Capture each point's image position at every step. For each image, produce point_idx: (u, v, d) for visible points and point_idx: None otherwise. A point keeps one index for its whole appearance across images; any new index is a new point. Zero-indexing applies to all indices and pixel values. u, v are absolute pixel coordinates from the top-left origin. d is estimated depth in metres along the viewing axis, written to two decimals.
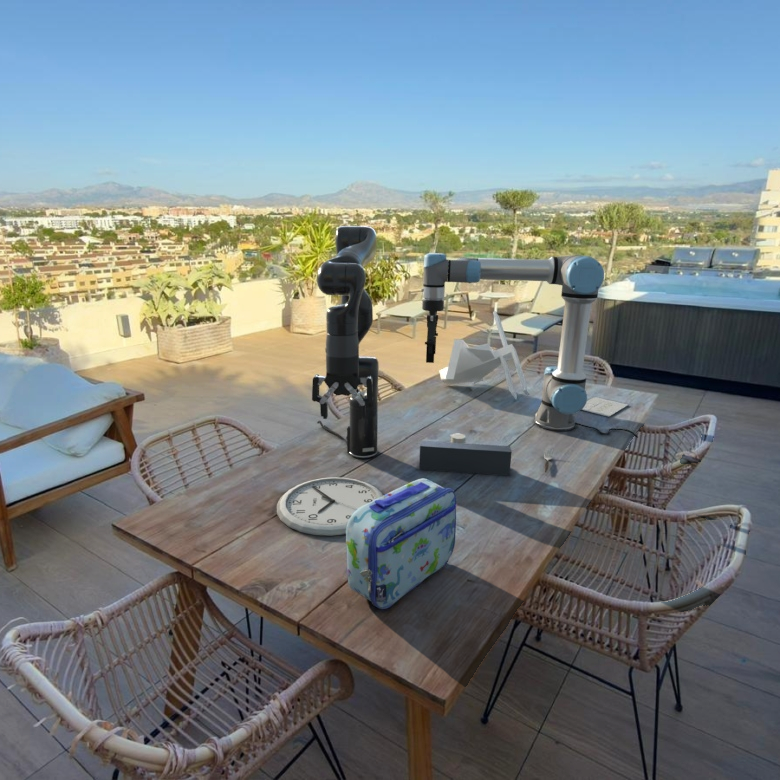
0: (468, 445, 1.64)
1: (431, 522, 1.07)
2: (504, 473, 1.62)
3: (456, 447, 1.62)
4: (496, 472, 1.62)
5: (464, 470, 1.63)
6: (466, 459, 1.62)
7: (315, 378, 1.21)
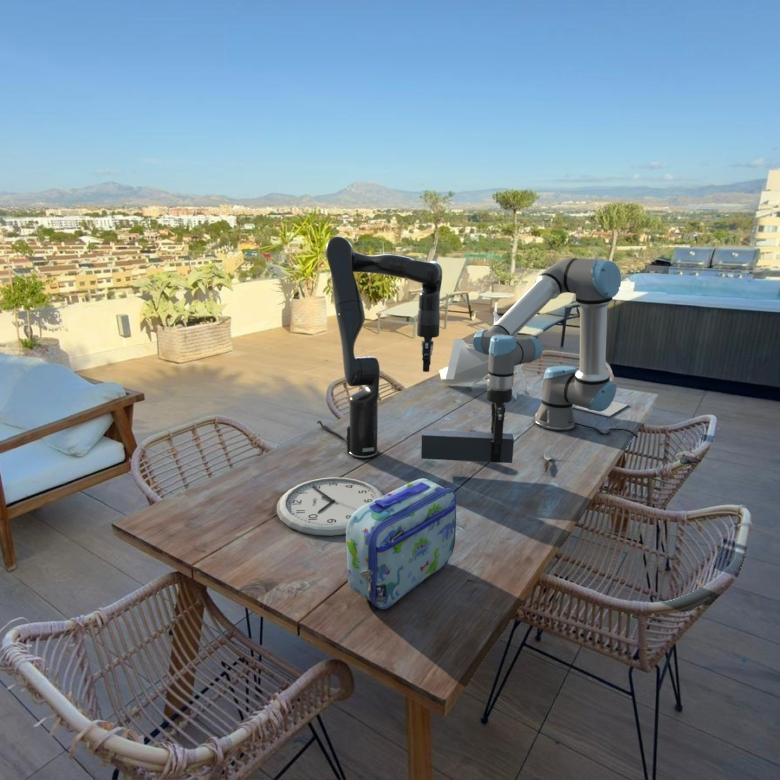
0: (470, 433, 1.63)
1: (431, 522, 1.07)
2: (507, 461, 1.61)
3: (458, 435, 1.61)
4: None
5: (466, 458, 1.62)
6: (468, 448, 1.61)
7: (430, 343, 1.73)
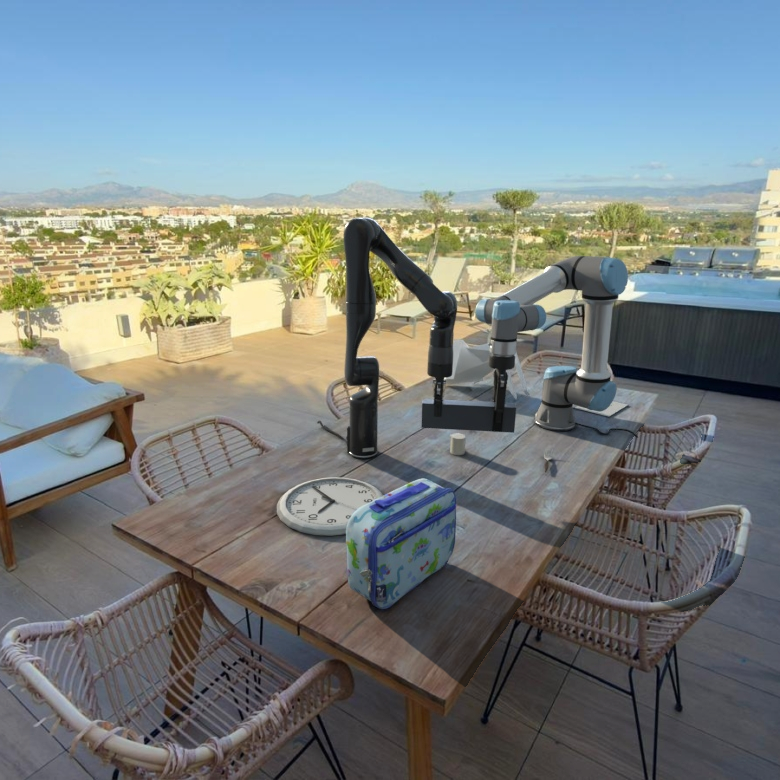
0: (471, 402, 1.59)
1: (431, 522, 1.07)
2: (509, 430, 1.58)
3: (459, 404, 1.58)
4: None
5: (467, 428, 1.59)
6: (469, 416, 1.58)
7: (442, 389, 1.52)
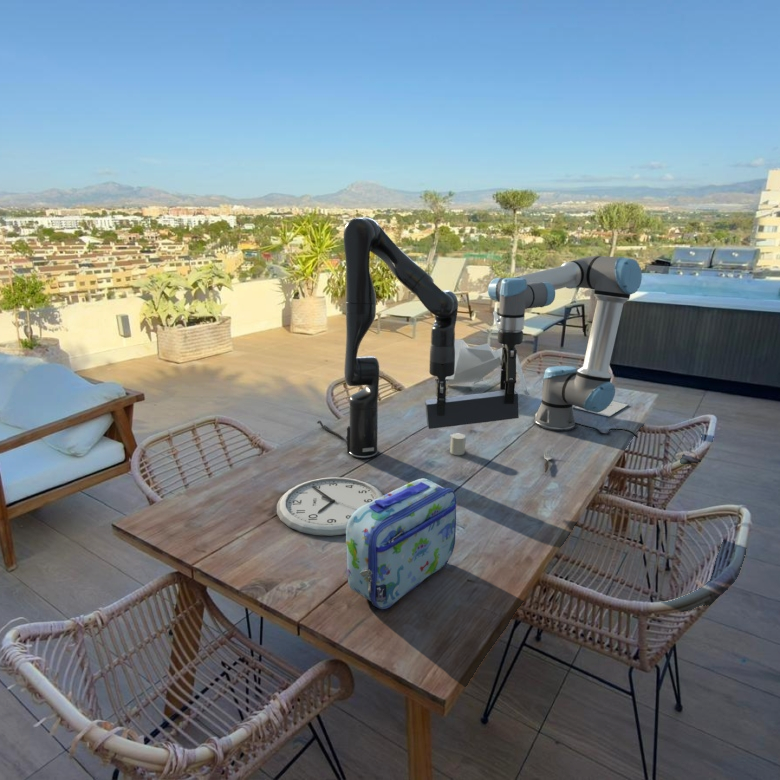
0: (473, 395, 1.61)
1: (431, 522, 1.07)
2: (513, 416, 1.61)
3: (463, 399, 1.59)
4: (505, 417, 1.61)
5: (474, 421, 1.61)
6: (474, 410, 1.60)
7: (445, 387, 1.53)
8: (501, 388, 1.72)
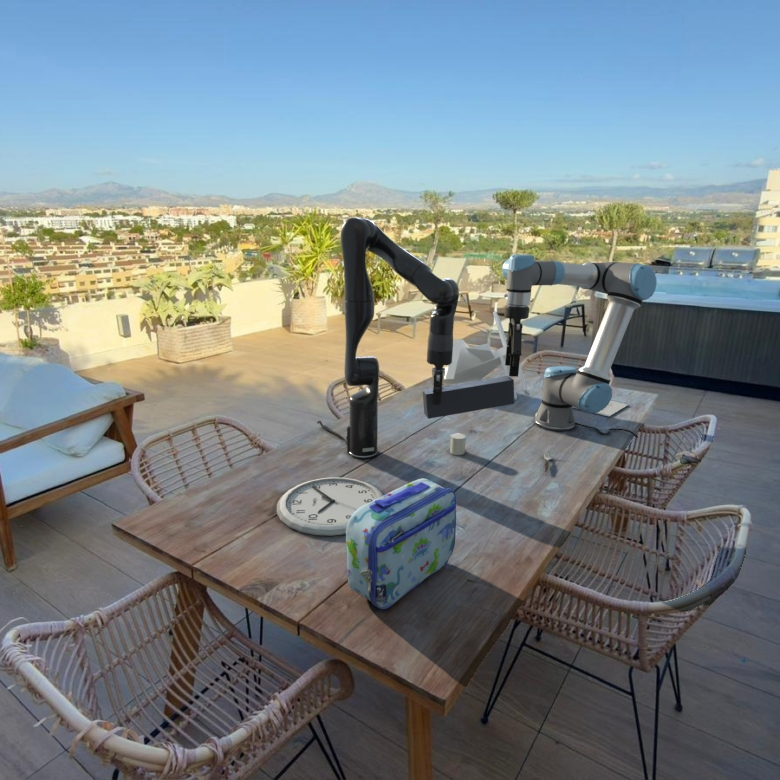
0: (470, 383, 1.61)
1: (431, 522, 1.07)
2: (509, 402, 1.63)
3: (461, 387, 1.59)
4: (502, 403, 1.63)
5: (472, 409, 1.61)
6: (472, 398, 1.60)
7: (442, 375, 1.51)
8: (506, 364, 1.76)
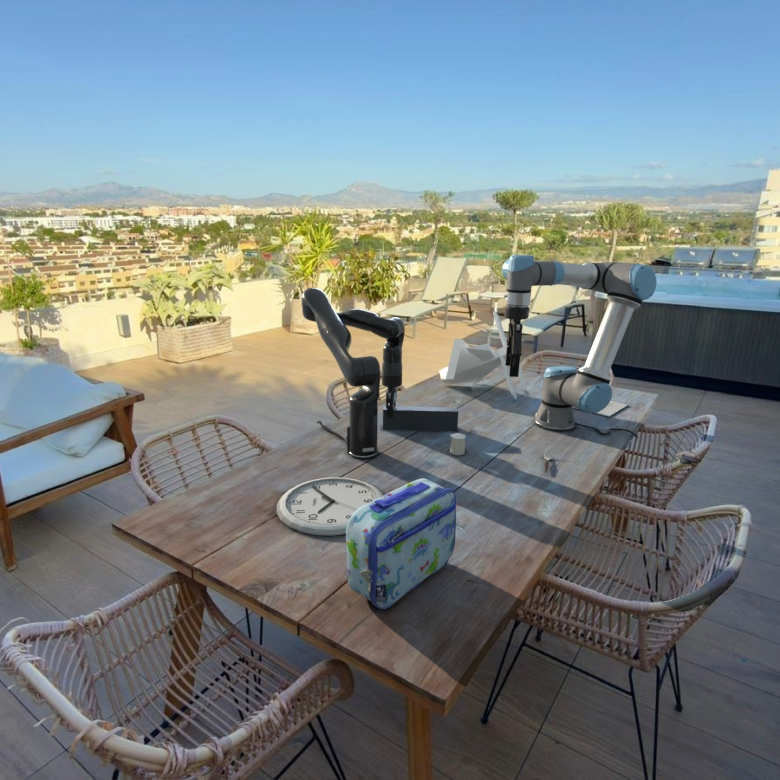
0: (423, 408, 1.97)
1: (431, 522, 1.07)
2: (453, 430, 1.96)
3: (413, 409, 1.95)
4: (446, 429, 1.96)
5: (420, 428, 1.96)
6: (421, 419, 1.95)
7: (393, 394, 1.88)
8: (506, 364, 1.77)
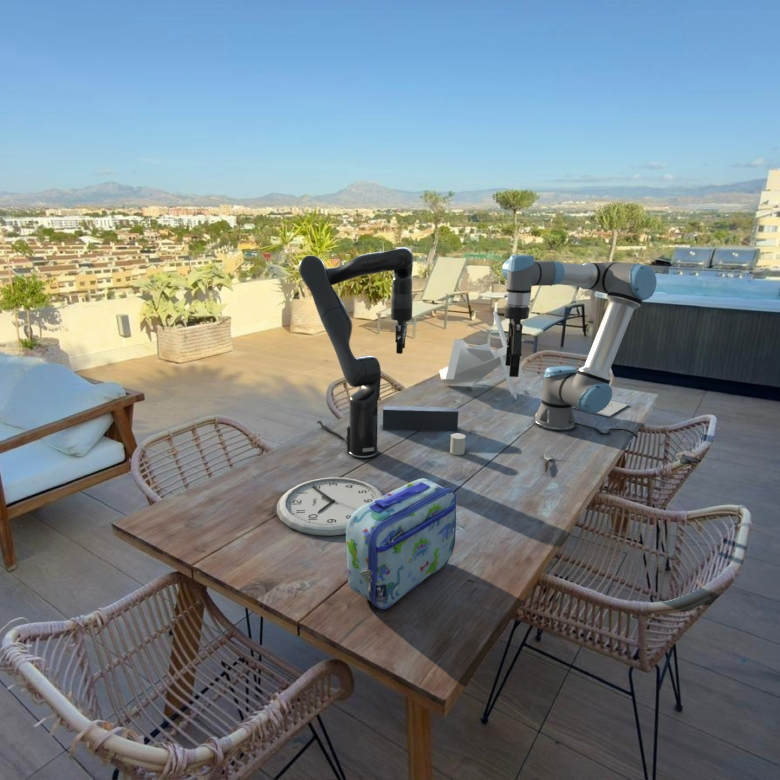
0: (423, 408, 1.97)
1: (431, 522, 1.07)
2: (453, 430, 1.96)
3: (413, 409, 1.95)
4: (446, 429, 1.96)
5: (420, 428, 1.96)
6: (421, 419, 1.95)
7: (403, 326, 1.80)
8: (506, 364, 1.77)
